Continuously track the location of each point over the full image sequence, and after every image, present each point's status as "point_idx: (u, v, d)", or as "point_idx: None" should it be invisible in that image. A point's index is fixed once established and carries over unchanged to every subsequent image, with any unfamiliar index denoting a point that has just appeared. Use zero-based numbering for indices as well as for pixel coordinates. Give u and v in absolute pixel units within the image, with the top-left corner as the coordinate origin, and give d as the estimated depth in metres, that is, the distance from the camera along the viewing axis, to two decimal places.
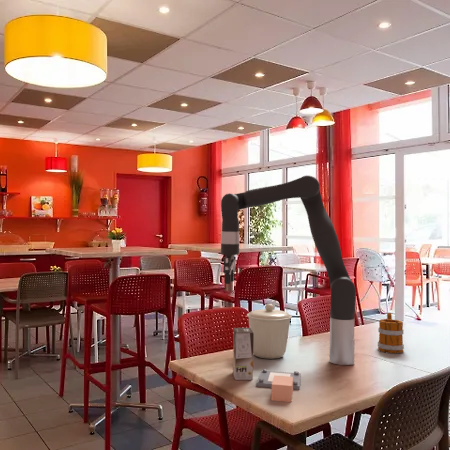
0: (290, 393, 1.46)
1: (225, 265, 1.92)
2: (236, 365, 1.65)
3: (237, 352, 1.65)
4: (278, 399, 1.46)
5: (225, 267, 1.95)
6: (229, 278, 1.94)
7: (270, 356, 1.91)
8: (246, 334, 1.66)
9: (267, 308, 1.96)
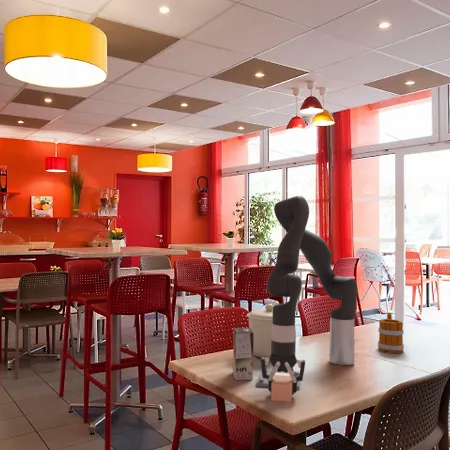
0: (290, 392, 1.45)
1: (303, 371, 1.49)
2: (236, 365, 1.65)
3: (237, 352, 1.65)
4: (278, 398, 1.46)
5: (293, 373, 1.49)
6: None
7: None
8: (246, 334, 1.66)
9: (267, 308, 1.96)
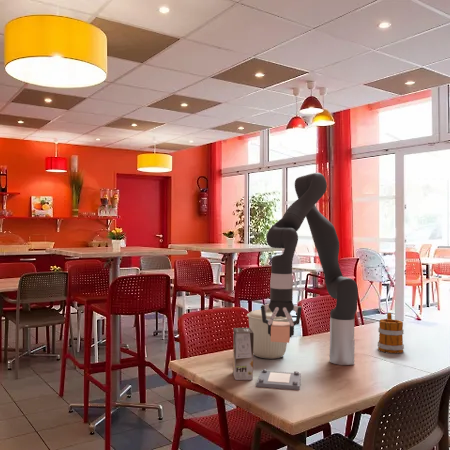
0: (288, 334, 1.60)
1: None
2: (236, 365, 1.65)
3: (237, 352, 1.65)
4: (277, 340, 1.60)
5: (291, 318, 1.63)
6: None
7: (270, 356, 1.91)
8: (246, 334, 1.66)
9: None
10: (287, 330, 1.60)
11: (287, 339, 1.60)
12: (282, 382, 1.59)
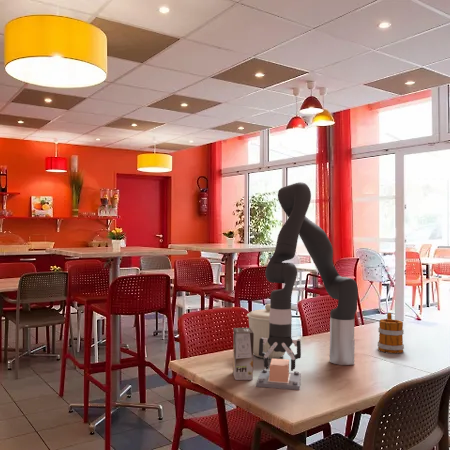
0: (286, 373, 1.60)
1: (300, 349, 1.63)
2: (236, 365, 1.65)
3: (237, 352, 1.65)
4: (275, 379, 1.60)
5: (291, 351, 1.63)
6: None
7: (270, 356, 1.91)
8: (246, 334, 1.66)
9: (267, 308, 1.96)
10: (286, 369, 1.60)
11: (286, 378, 1.60)
12: (282, 382, 1.59)
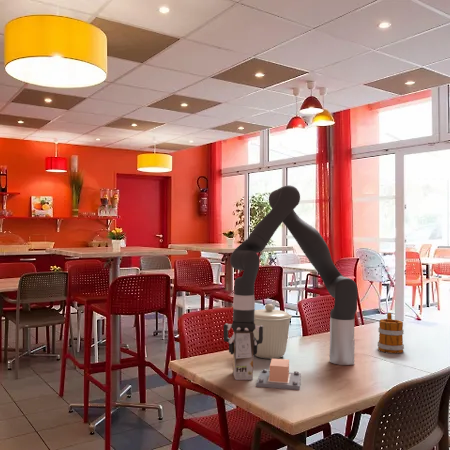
0: (286, 373, 1.60)
1: (262, 334, 1.68)
2: (236, 365, 1.65)
3: (237, 352, 1.65)
4: (275, 379, 1.60)
5: None
6: None
7: (270, 356, 1.91)
8: (246, 334, 1.66)
9: (267, 308, 1.96)
10: (286, 369, 1.60)
11: (286, 378, 1.60)
12: (282, 382, 1.59)
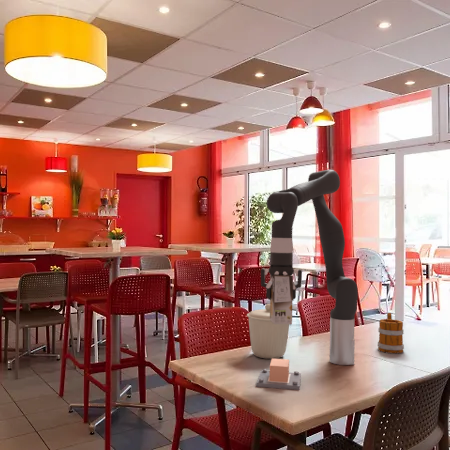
0: (286, 373, 1.60)
1: (301, 278, 1.63)
2: (275, 309, 1.60)
3: (276, 296, 1.60)
4: (275, 379, 1.60)
5: None
6: None
7: (270, 356, 1.91)
8: (285, 277, 1.61)
9: (267, 308, 1.96)
10: (286, 369, 1.60)
11: (286, 378, 1.60)
12: (282, 382, 1.59)
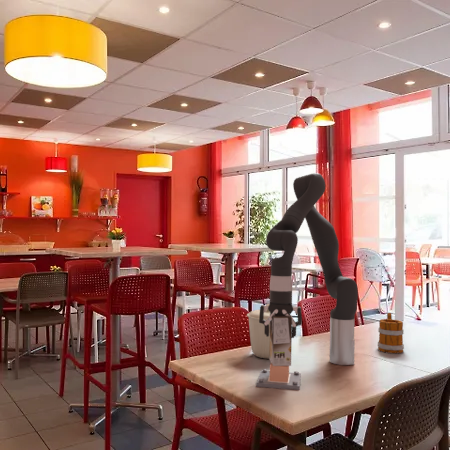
0: (286, 373, 1.60)
1: (301, 316, 1.63)
2: (274, 351, 1.60)
3: (275, 337, 1.60)
4: (276, 379, 1.60)
5: (292, 319, 1.63)
6: None
7: None
8: (284, 319, 1.61)
9: None
10: (286, 369, 1.60)
11: (286, 378, 1.60)
12: (282, 382, 1.59)
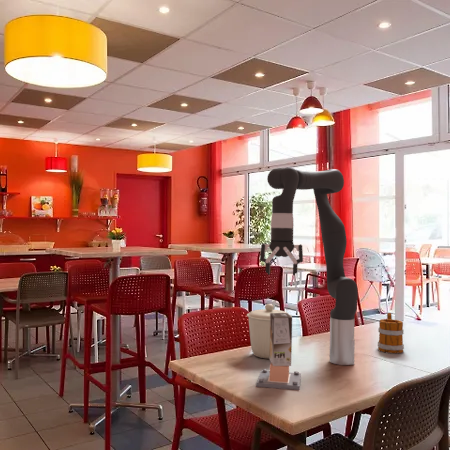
0: (286, 373, 1.60)
1: (302, 253, 1.63)
2: (274, 351, 1.60)
3: (275, 337, 1.60)
4: (276, 379, 1.60)
5: (293, 256, 1.63)
6: None
7: None
8: (284, 319, 1.61)
9: (267, 308, 1.96)
10: (286, 369, 1.60)
11: (286, 378, 1.60)
12: (282, 382, 1.59)
